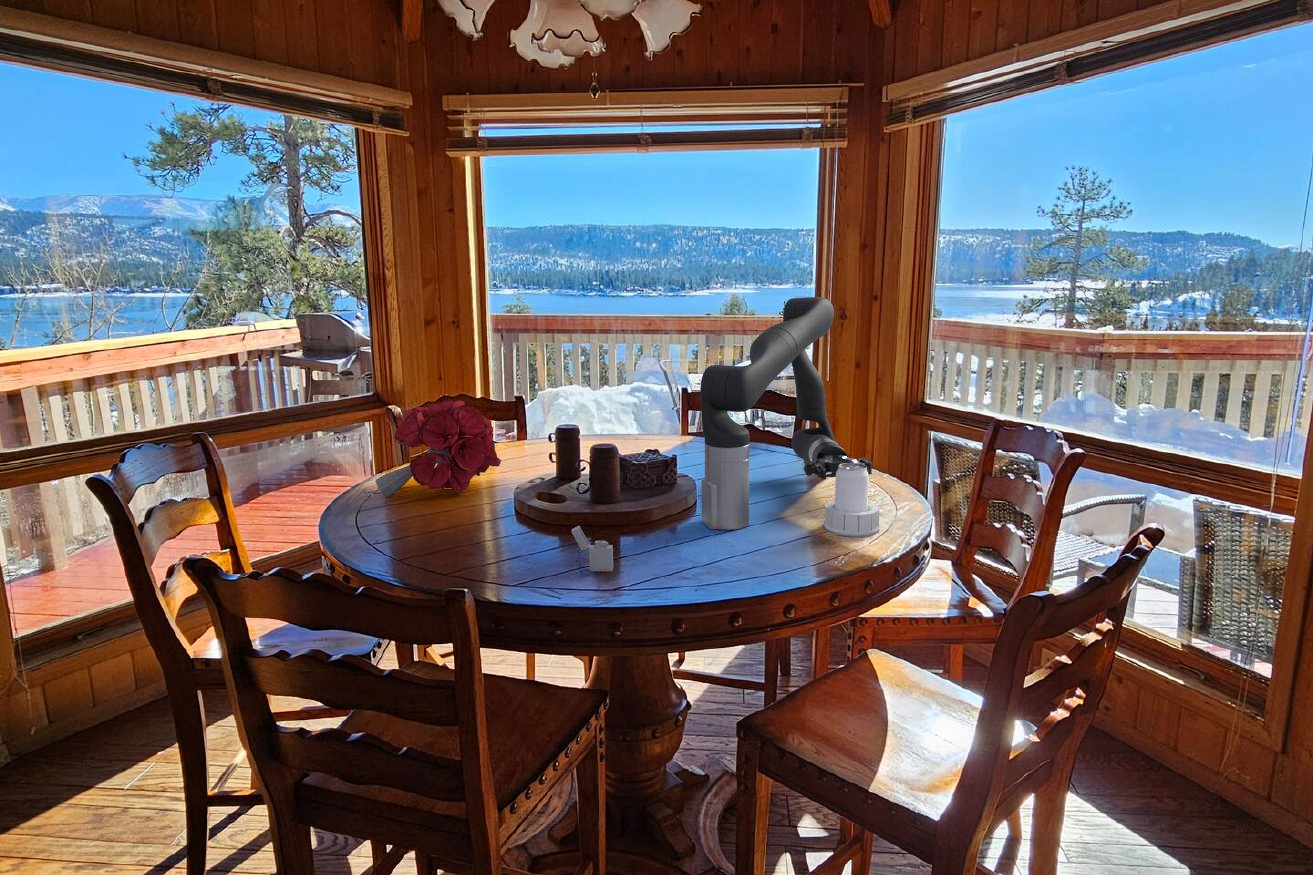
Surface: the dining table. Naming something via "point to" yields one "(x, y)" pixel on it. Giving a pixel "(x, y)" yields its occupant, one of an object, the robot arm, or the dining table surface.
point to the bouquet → (443, 447)
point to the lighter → (595, 552)
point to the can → (851, 488)
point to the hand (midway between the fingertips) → (844, 474)
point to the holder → (852, 521)
